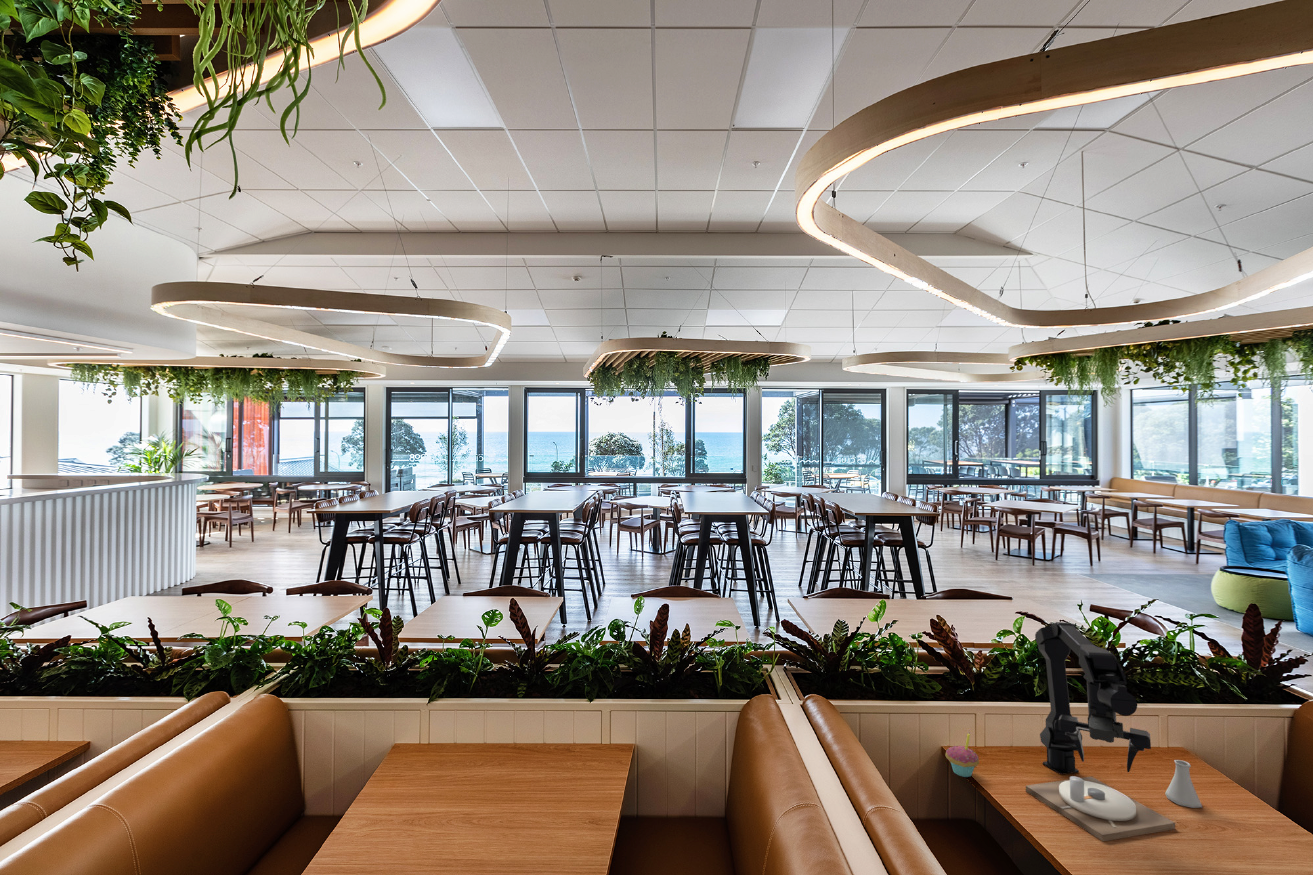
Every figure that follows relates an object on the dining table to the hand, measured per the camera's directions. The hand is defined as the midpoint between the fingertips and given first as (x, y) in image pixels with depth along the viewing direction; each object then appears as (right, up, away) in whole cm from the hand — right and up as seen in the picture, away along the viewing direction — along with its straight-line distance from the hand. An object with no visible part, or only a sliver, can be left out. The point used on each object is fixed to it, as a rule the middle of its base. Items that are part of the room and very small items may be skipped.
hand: (1105, 766), depth 152 cm
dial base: (0, -12, +3) cm, 13 cm away
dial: (0, -11, +3) cm, 11 cm away
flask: (+25, -13, +6) cm, 29 cm away
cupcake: (-26, -13, +20) cm, 35 cm away
